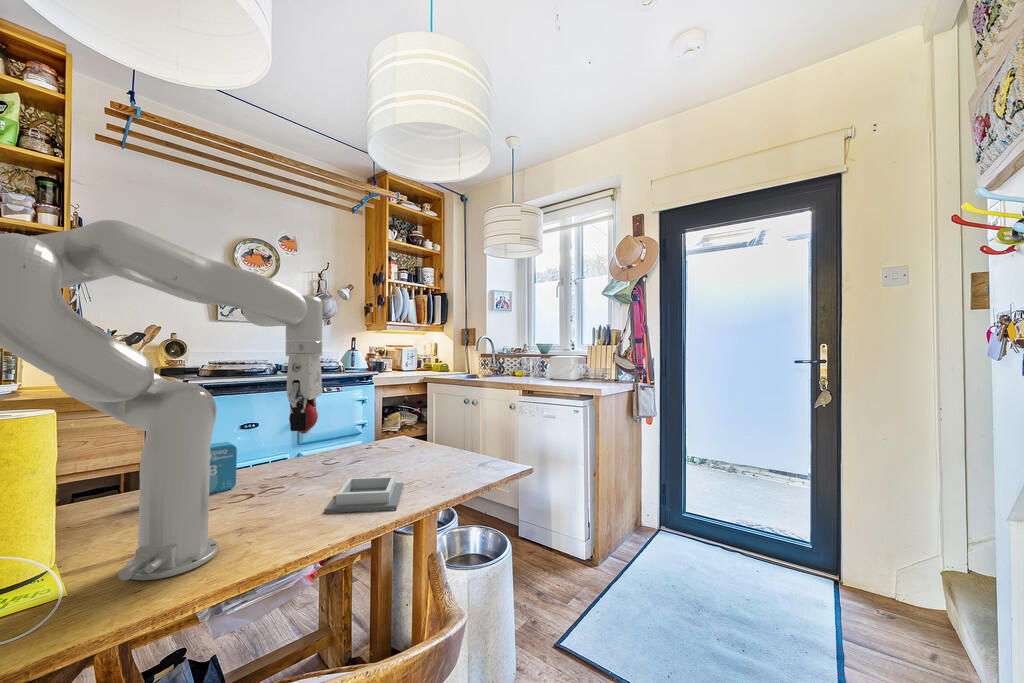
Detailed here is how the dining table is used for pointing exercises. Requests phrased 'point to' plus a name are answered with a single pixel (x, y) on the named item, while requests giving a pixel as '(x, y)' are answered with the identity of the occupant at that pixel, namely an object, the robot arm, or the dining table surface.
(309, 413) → the onion
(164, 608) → the dining table surface
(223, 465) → the data package
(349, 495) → the tray
